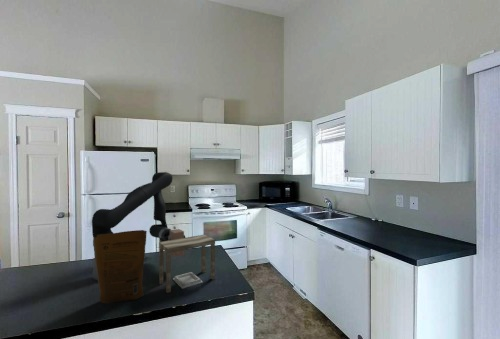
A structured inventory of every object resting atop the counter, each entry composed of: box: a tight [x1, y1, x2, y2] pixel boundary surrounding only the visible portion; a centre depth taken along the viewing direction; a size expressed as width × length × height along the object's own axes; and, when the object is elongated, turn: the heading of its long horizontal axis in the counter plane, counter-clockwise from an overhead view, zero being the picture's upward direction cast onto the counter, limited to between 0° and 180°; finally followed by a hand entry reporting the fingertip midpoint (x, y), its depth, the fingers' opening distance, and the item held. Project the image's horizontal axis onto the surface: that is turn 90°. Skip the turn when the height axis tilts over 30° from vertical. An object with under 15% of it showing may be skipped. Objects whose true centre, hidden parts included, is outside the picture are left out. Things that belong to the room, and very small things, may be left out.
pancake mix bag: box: [92, 229, 148, 304], centre depth 100 cm, size 7×19×28 cm, turn 106°
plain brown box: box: [170, 228, 185, 258], centre depth 129 cm, size 7×5×12 cm
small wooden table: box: [158, 234, 216, 294], centre depth 117 cm, size 12×23×19 cm, turn 127°
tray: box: [172, 271, 204, 289], centre depth 117 cm, size 12×10×2 cm
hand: (178, 242), depth 126 cm, fingers closed on plain brown box, 5 cm apart
